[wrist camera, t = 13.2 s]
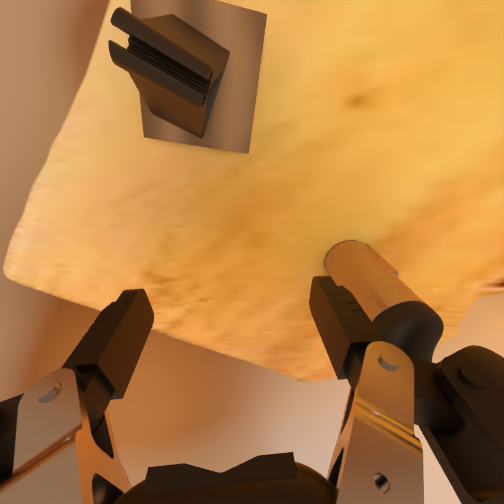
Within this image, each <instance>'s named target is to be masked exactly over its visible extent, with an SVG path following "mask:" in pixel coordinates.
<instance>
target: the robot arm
mask: <svg viewBox="0 0 504 504" xmlns="http://www.w3.org/2000/svg"><path fill="white" fill-rule="evenodd" d="M325 268H326V270H327V271H328V273H329V274H330V276H316V277H313V279H312V285H311V292H310V299H309V305H310V310H311V314H312V316H313V319H314V321H315V324H316V326H317V328H318V331H319V333H320V336H321V338H322V341H323V343H324V346H325V348H326V351H327V353H328V356H329V358H330V361H331V363H332V366H333V368H334V371H335V373H336V376H337V378H338V380H339V379H348V381H349V384H350V386H351V388H350V391H349V395H348V399H347V403H346V408H345V412H344V416H343V420H342V424H341V428H340V432H339V436H338V440H337V443H336V446H335V449H334V453H333V456H332V460H331V463H330V468H329V471H328V476H327V479H326V478H325V477H323V476H322V475H321V474H319V473H318V472H317V471H315V470H313V469H312V468H310V467H308V466H305V465H303V464H301V463H298V462H295V461H294V456H293V452H288V453H279V454H269V455H260V456H257V457H254V458H252V459H250V460H248V461H246V462H244V463H242V464H240V465H238V466H236V467H233V468H231V469H229V470H227V471H225V472H222V473H218V472H214V471H210V470H207V469H203V468H200V467H196V466H192V465H189V464H175V465H166V466H156V467H148V471H147V475H146V479H145V480H143V481H142V482H140V483H138V484H137V485H135V486H134V487H132V488H131V484H130V481H129V479H128V476H127V474H126V472H125V470H124V468H123V466H122V464H121V461H120V459H119V455H118V451H117V447H116V443H115V438H114V434H113V430H112V426H111V422H110V418H109V413H108V411H107V409H106V408H107V406H108V404H109V402H110V400H113V399H122V398H123V397H124V394H125V392H126V389H127V387H128V384H129V382H130V379H131V377H132V374H133V372H134V370H135V367H136V365H137V362H138V360H139V357H140V355H141V352H142V350H143V347H144V345H145V343H146V340H147V338H148V335H149V333H150V330H151V328H152V325H153V322H154V312H153V309H152V307H151V304H150V302H149V299H148V297H147V294H146V292H145V290H144V289H130V290H124V291H123V292H122V293H121V295H120V296H119V298H118V299H117V301H116V302H112V303H111V304H110V305H108V306H107V307H106V308H105V309H104V310H102V311H101V313H100V314H99V316H98V317H97V318H96V320H95V322H94V323H93V324H92V325H91V327H90V328H89V330H88V332H86V334H85V335H84V337H83V338H82V340H81V341H80V342H79V344H78V345H77V346H76V348H75V349H74V351H73V352H72V354H71V355H70V356H69V358H68V359H67V361H66V362H65V363H64V365H63V366H62V368H61V369H58V370H55V371H52V372H50V373H48V374H46V375H45V376H43V377H42V378H40V379H39V380H37V381H36V382H35V383H34V384H33V385H32V386H31V387H30V388H29V389H28V390H27V391H26V392H25V393H24V394H21V395H19V396H16V397H13V398H10V399H8V400H5V401H2V402H0V504H424V485H423V484H424V483H423V482H424V481H423V450H422V445H421V442H420V440H419V439H418V438H417V437H415V434H414V424H416V425H418V426H419V427H420V429H421V431H422V433H423V435H424V437H425V438H426V440H427V442H428V444H429V446H430V447H431V449H432V451H433V453H434V455H435V457H436V458H437V460H438V462H439V464H440V465H441V467H442V469H443V471H444V473H445V475H446V476H447V478H448V480H449V482H450V483H451V485H452V487H453V489H454V491H455V493H456V494H457V496H458V498H459V500H460V502H461V503H462V504H504V358H503V357H502V356H500V355H499V354H497V353H495V352H493V351H491V350H489V349H487V348H484V347H481V346H474V345H472V346H468V347H465V348H463V349H461V350H459V351H457V352H456V353H454V354H452V355H450V356H448V357H445V358H444V359H443V360H442V361H440V362H439V363H437V364H436V363H432V356H433V352H434V349H435V347H436V345H437V343H438V341H439V339H440V338H441V336H442V333H443V329H444V325H443V321H442V320H441V318H440V317H439V315H438V314H437V313H436V312H435V311H434V310H433V309H431V308H430V307H429V306H428V305H427V304H426V303H425V302H424V301H423V300H422V299H421V298H419V297H418V296H417V295H416V294H415V293H414V292H413V291H412V290H411V289H410V288H409V287H408V286H407V285H405V284H404V283H403V282H402V281H401V280H400V279H399V278H398V277H397V276H398V271H397V270H396V269H395V268H393V267H392V266H391V265H390V264H389V263H388V262H387V261H386V260H385V259H383V258H382V257H381V256H380V255H379V254H378V253H377V252H376V251H375V250H373V249H372V248H371V247H370V246H369V245H363V244H362V243H360V242H358V241H352V240H351V241H345V242H342V243H340V244H338V245H336V246H335V247H333V248H332V249H331V250H330V251H329V253H328V254H327V256H326V258H325Z"/></svg>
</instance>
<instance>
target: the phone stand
mask: <svg viewBox="0 0 504 504" xmlns="http://www.w3.org/2000/svg"><path fill="white" fill-rule="evenodd" d="M111 23H112V25H113V26H115V27H117V28H119V29H120V30H122V31H124V32H125V33H127V34H129V35H130V36H129V39H128V42H129V46H128V47H127V49H125V48H123V47H122V46H120V45H118V44H117V43H115V42H113V41H111V40H109V41H108V42H109V51H110V56H111V59H112V61H113V63H114V64H115V65H117V66H119V67H120V68H122V69H124V70H126V71H128V72H129V74H130V76H131V78H132V79H133V81H134V83H135V85H136V86H137V88H138V90H139V92H140V93H141V95H142V97H143V99H144V100H145V102H146V104H147V106H148V107H149V109H150V111H151V113H152V114H153V115H155V116H157V117H159V118H161V119H163V120H165V121H167V122H169V123H171V124H173V125H175V126H177V127H179V128H181V129H183V130H185V131H187V132H189V133H191V134H193V135H195V136H197V137H199V138H201V139H202V138H203V135H204V132H205V129H206V126H207V123H208V120H209V117H210V114H211V111H212V107H213V104H214V101H215V98H216V95H217V92H218V89H219V86H220V83H221V80H222V77H223V73H224V70H225V67H226V64H227V61H228V58H229V55H230V51H228V50H227V49H225V48H224V47H222V46H221V45H219V44H218V43H216V42H215V41H213V40H212V39H210V38H209V37H207V36H205V35H204V34H202V33H201V32H199V31H198V30H196V29H195V28H193V27H192V26H190V25H189V24H187V23H186V22H184V21H183V20H181V19H180V18H178V17H177V16H175V15H174V14H169V15H163V16H157V17H151V18H145V19H139V18H138V17H136V16H134V15H133V14H131V13H130V12H128V11H126V10H125V9H123V8H121V7H119V8H117V9H116V10H115V11H114V13H113V15H112V18H111Z"/></svg>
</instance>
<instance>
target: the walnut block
mask: <svg viewBox="0 0 504 504" xmlns="http://www.w3.org/2000/svg"><path fill="white" fill-rule="evenodd" d="M130 1H131V11H132V14H133V15H134V16H136V17H138V18H139V19H145V18H151V17H157V16H163V15H169V14H174V15H175V16H177V17H178V18H180V19H181V20H183V21H184V22H186V23H187V24H189V25H190V26H192V27H193V28H195V29H196V30H198V31H199V32H201V33H202V34H204V35H205V36H207V37H209V38H210V39H212V40H213V41H215V42H216V43H218V44H219V45H221V46H222V47H224V48H225V49H227V50H228V51H230V55H229V58H228V61H227V64H226V67H225V70H224V73H223V77H222V80H221V83H220V86H219V89H218V92H217V95H216V98H215V101H214V104H213V107H212V111H211V114H210V117H209V120H208V123H207V126H206V129H205V132H204V135H203V138H202V139H201V138H199V137H197V136H195V135H193V134H191V133H189V132H187V131H185V130H183V129H181V128H179V127H177V126H175V125H173V124H171V123H169V122H167V121H165V120H163V119H161V118H159V117H157V116H155V115H153V114H152V113H151V111H150V109H149V107H148V106H147V104H146V102H145V100H144V99H143V97H142V95H141V93H140V102H141V113H142V123H143V133H144V137H146V138H152V139H158V140H165V141H171V142H177V143H184V144H190V145H196V146H202V147H209V148H215V149H221V150H228V151H234V152H240V153H247V154H248V153H249V145H250V138H251V131H252V123H253V116H254V108H255V101H256V93H257V86H258V78H259V71H260V64H261V56H262V49H263V41H264V34H265V26H266V19H267V14H265V13H261V12H257V11H254V10H250V9H246V8H242V7H239V6H235V5H231V4H228V3H224V2H220V1H217V0H130Z"/></svg>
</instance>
